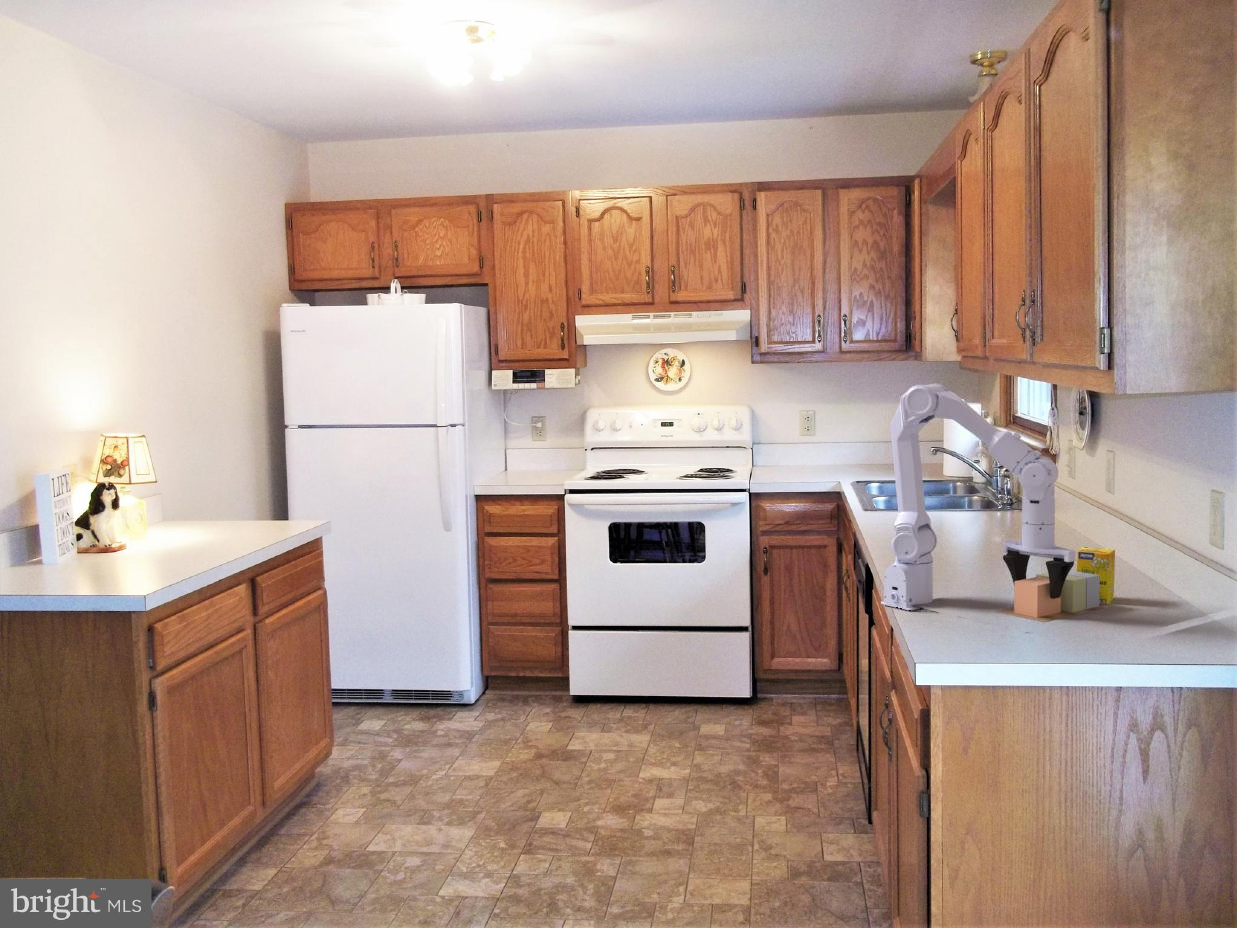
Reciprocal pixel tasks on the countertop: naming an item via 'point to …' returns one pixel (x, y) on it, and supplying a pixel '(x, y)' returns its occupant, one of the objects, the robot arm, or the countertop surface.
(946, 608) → the countertop surface
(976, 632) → the countertop surface
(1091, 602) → the slate book
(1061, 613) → the walnut board
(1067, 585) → the olive book
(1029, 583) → the terracotta block
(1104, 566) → the supplement box
